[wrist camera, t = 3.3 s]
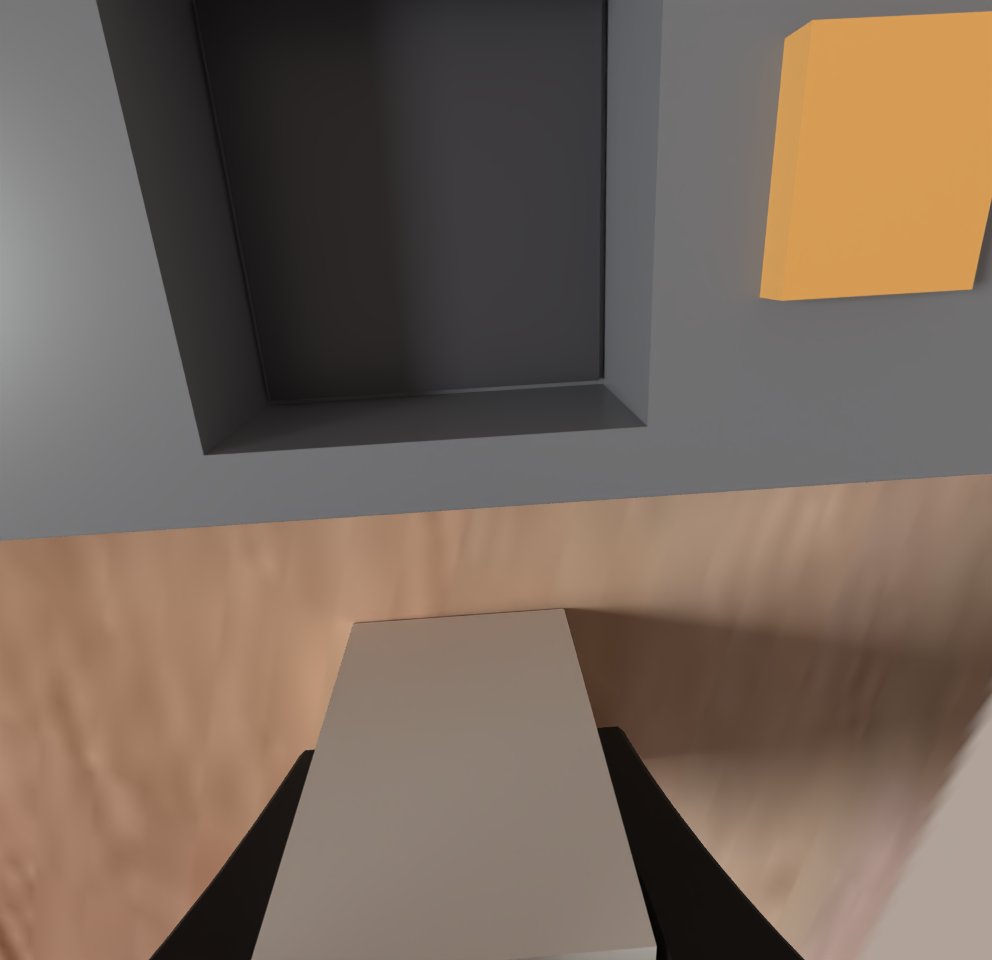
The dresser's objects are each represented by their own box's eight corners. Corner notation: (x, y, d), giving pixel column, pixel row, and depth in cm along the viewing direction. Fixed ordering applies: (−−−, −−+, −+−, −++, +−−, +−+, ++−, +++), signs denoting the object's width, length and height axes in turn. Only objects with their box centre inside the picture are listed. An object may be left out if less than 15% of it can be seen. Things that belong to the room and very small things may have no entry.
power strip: (-352, 492, 10) (-755, 609, 7) (-665, -38, 7) (-1559, -267, 4) (850, 413, 10) (1028, 487, 7) (932, -108, 8) (1263, -361, 5)
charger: (379, 783, 13) (309, 1214, 7) (353, 623, 11) (239, 1000, 6) (566, 768, 13) (647, 1182, 7) (563, 608, 12) (661, 962, 6)
